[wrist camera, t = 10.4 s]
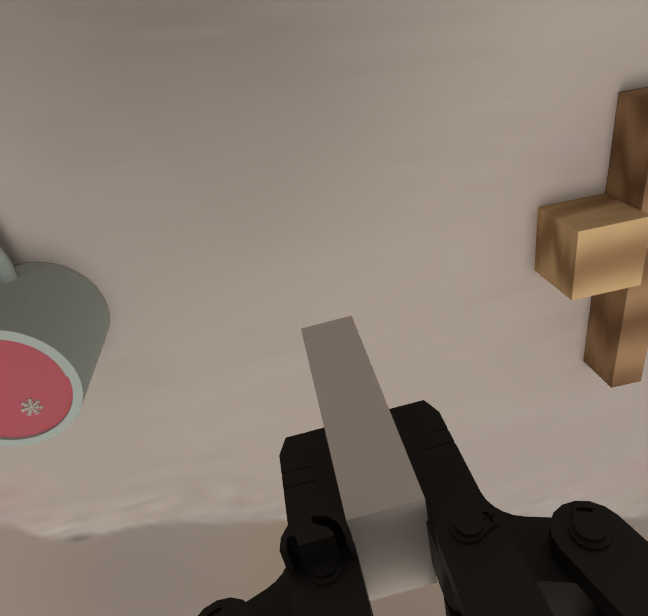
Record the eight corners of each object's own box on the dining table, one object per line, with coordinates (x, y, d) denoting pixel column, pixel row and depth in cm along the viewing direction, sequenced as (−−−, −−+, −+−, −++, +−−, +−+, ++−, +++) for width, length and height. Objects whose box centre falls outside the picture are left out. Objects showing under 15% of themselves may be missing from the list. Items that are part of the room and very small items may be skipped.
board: (618, 92, 42) (660, 100, 38) (655, 85, 42) (701, 93, 38) (583, 361, 55) (611, 388, 51) (611, 354, 55) (642, 381, 51)
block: (537, 206, 46) (578, 231, 40) (603, 193, 46) (652, 216, 41) (534, 269, 49) (571, 300, 43) (596, 256, 49) (640, 285, 44)
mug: (127, 346, 45) (105, 425, 37) (17, 375, 45) (-31, 461, 36) (54, 192, 38) (6, 244, 30) (-76, 223, 38) (-163, 286, 29)
